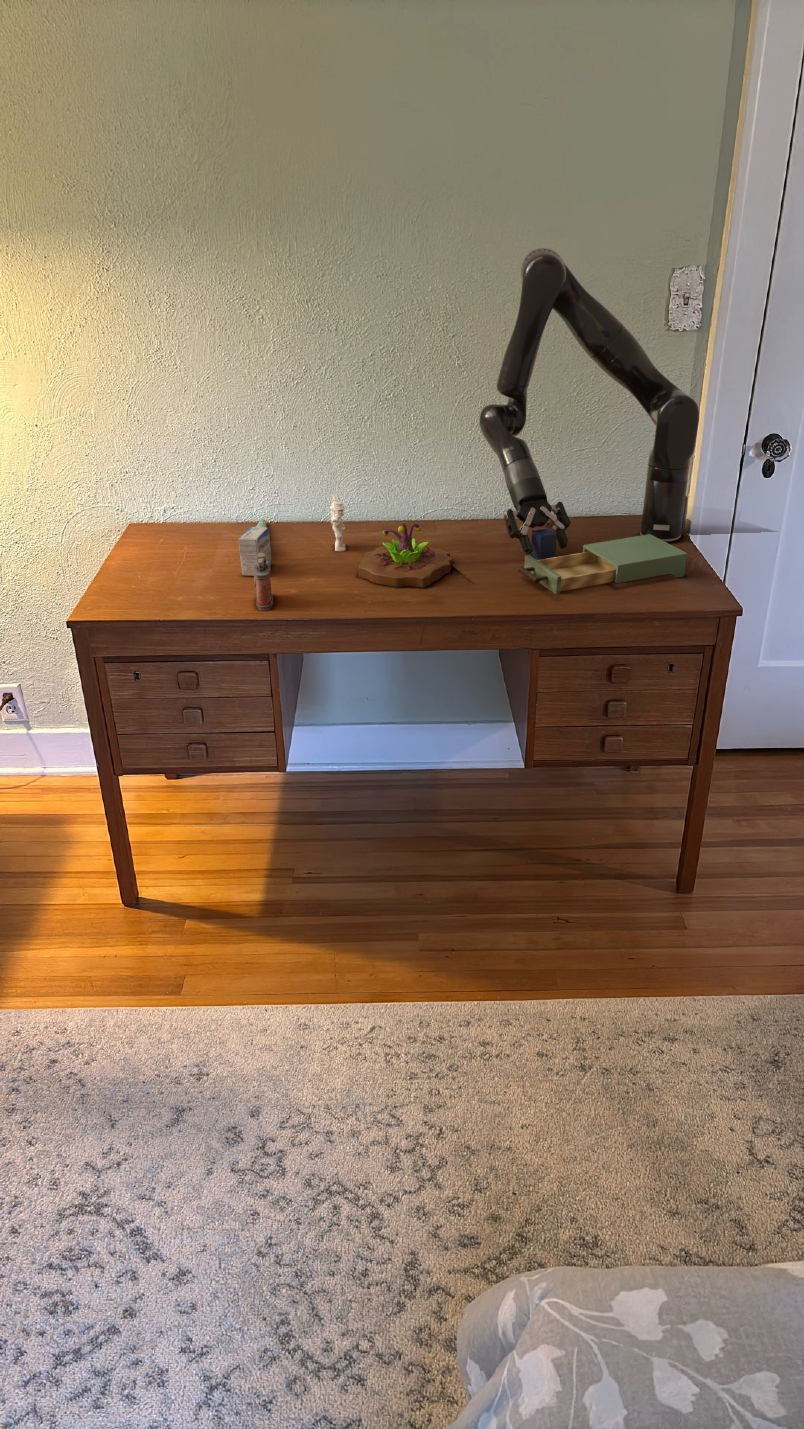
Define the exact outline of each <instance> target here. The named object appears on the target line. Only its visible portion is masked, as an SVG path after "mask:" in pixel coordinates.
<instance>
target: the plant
mask: <svg viewBox="0 0 804 1429" xmlns="http://www.w3.org/2000/svg"><path fill="white" fill-rule="evenodd" d="M414 528H415V531H416V532H420V531H421V530H422V527H421V525H420V524H418V523H413V524H411V526H410V527H409V530H408V528H407V525H406V523H401V524H400V525H399V526H398V528H397V530H398V531H396V530H394V529H393V528H385V529H383V530H382V535H383V536H384V537H385V536H386V537H387V536H388V535H389V533H392V534H393V535H394V536H395V537H396V538H398V540H396V539H394V538H393V539H392V543H390V542H387V541H382V545H383V546H378V547H376V549H375V550H372V551H369V552H366V553H365V554H364V556H363V557H362V559H361V560H360V562H359V564H358V570H357V571H358V577H359V578H360V579H364V580H367V581H369V582H370V583H373V584H375V585H380V586H388V587H393V588H402V587H413V588H422V589H423V588H425V587H429V586H431V585H432V584H433V583H435V582H436V581H438V580H440V579H441V578H442V577H443V576H444V575H446V574H450V573H451V570H452V569H453V565H452V564H453V558H452V557H451V553H450V552H449V551H446V550H444V549H441V548H437V547H436V548H435V547H431V546H427V545H428V544H429V541H423V542H421V543H419V544H416V539H415V538H414V537H412V536H413V531H414ZM401 534H402V535H401Z"/></svg>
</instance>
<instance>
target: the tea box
mask: <svg viewBox="0 0 804 1429" xmlns="http://www.w3.org/2000/svg"><path fill="white" fill-rule="evenodd" d="M530 542H531V545H532V548H533V551H532V552H531V554H530V556H531V557H533V558H534V559H536V560H541V559H547V558H553V557H557V555H556V554H557V542H558V540H557V533H555V532H554V531H553V530H552V529H548V528H542V529H536V530H532V531H531V540H530Z"/></svg>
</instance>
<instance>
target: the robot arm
mask: <svg viewBox="0 0 804 1429" xmlns="http://www.w3.org/2000/svg"><path fill="white" fill-rule="evenodd" d="M520 282H521V283H520V284H521V291H520V292H521V293H520V302H519V307H518V313H517V317H516V321H515V325H514V327H513V330H512V333H511V335H510V338H509V341H508V343H507V345H506V349H505V353H504V355H503V358H502V362H501V366H500V369H499V373H498V376H497V380H496V385H495V387H496V391H497V392H498V393H499V394H501V395H502V396H504V397H507V403H506V404H500V403H499V404H498V403H497V404H496V403H494V404H493V403H492V404H487V405H486V406H484V407H483V408H482V409H481V411H480V413H479V416H478V424H479V429H480V431H481V434H482V436H483V438H484V439H485V440H486V442H487V443H488V445H489V446H490V448H491V450H492V451H493V452H494V454H495V455H496V456H497V458H498V460H499V464H500V468H501V470H502V472H503V475H504V476H503V477H504V481H505V485H506V488H507V490H508V493H509V496H510V500H511V503H512V505H513V508H514V509H515V510H513V509H512V508H508V509H507V510H506V512H505V513H504V515H503V518H504V522H505V526H506V528H507V529H506V530H507V532H508V537H509V538H510V539H518V540H519V542H520V545H521V549H522V552H524V553H525V555H531V552H532V551H533V548H532V545H531V540H530V536H529V534H527V533H528V531H529V528H530V529H534V528H536V527H537V528H539V527H540V528H541V527H546V529H550V530H551V531H553V532H555V533H556V534H557V543H558V546H559V549H560V550H564V549H566V547H567V546H568V544H569V539H568V537H567V534H566V530H567V529H568V528H569V526H571V524H572V523H571V520H570V518H569V515H568V512H567V510H566V507H565V506H564V503H563V502H562V501H558V502H557V503H555V504H550V502H549V501H548V495H547V493H546V490H545V486H544V484H543V482H542V479H541V476H540V473H539V470H538V468H537V466H536V464H535V463H534V460H533V456H532V454H531V451H530V448H529V446H528V443H527V441H525V440H524V439H522V438H520V437H517V436H519V435H520V434H521V433H522V431H523V430H524V428H525V426H526V423H527V406H528V404H527V403H528V390H529V387H530V386H529V385H530V383H531V379H532V376H533V373H534V369H535V364H536V361H537V357H538V353H539V350H540V345H541V342H542V337H543V335H544V332H545V329H546V326H547V323H548V320H549V318H550V315H551V313H552V311H554V312H555V314H557V315H558V316H559V317H560V318H561V320H562V321H563V322H564V324H565V325H566V327H567V328H568V329H569V331H570V333H571V334H572V336H573V337H574V339H575V340H576V342H577V343H578V344H579V346H580V347H581V348H582V350H583V351H584V352H585V353H586V354H587V356H588V357H589V358H590V359H591V360H592V361H593V362H594V363H595V364H596V365H597V366H598V368H600V369H601V370H602V371H603V372H604V373H605V374H606V375H607V376H609V377H610V378H611V379H612V380H614V381H615V382H616V383H617V384H619V385H620V386H621V387H623V388H624V389H626V390H627V391H628V392H629V393H630V394H631V395H632V396H633V397H634V398H635V399H636V401H637V403H639V404H640V406H641V407H642V409H643V410H644V411H645V412H646V414H647V415H648V416H649V418H650V420H651V421H652V422H653V424H654V425H655V433H654V438H653V439H654V440H653V446H652V449H651V450H650V451H649V454H648V460H647V470H646V480H645V487H644V497H643V504H642V505H643V506H642V514H641V515H642V516H641V524H640V530H639V536H641V535H648V534H651V535H653V536H655V537H657V538H659V539H660V540H662V541H664V542H666V543H668V544H670V543H675V542H678V541H680V540H681V537H683V535H684V528H685V521H686V513H687V506H688V496H687V489H688V481H689V474H690V473H689V471H690V464H691V459H692V457H693V455H694V452H695V447H696V444H697V443H696V442H697V436H698V429H699V424H700V408H699V405H698V403H697V402H696V400H695V399H694V398H693V397H691V396H690V395H689V394H688V393H686V392H685V391H683V390H682V389H681V388H679V387H677V385H675V384H674V383H673V382H672V381H670V380H669V378H667V377H666V376H665V375H664V374H662V372H660V371H659V370H658V368H657V367H656V366H655V365H654V363H653V362H652V361H651V360H652V359H650V357H649V355H648V354H647V352H646V351H645V349H644V348H643V346H642V345H641V343H640V342H639V341H638V339H637V338H636V337H635V336H634V335H633V334H632V333H631V332H630V331H629V329H628V328H627V327H626V326H625V325H624V324H623V323H622V322H621V321H620V320H619V319H618V318H617V317H616V316H615V315H614V314H613V313H612V312H611V311H609V309H608V308H606V307H605V306H604V305H603V304H602V303H601V302H600V301H598V300H597V299H596V298H595V297H594V296H593V295H591V294H590V293H589V292H588V290H586V289H585V288H584V287H583V285H582V284H581V283H580V282H579V280H578V279H577V278H576V276H575V275H574V274H573V273H572V271H571V270H570V269H569V267H568V265H567V264H566V263H565V261H564V260H563V258H562V257H561V256H560V254H558V252H556V251H555V250H553V249H551V248H547V247H541V248H540V247H539V248H536V249H535V248H534V249H533V250H532V251H530V252H529V253H528V254H526V256H525V258H524V259H523V261H522V264H521V267H520ZM552 512H553V513H552ZM516 519H518V520H519V521H520V522H521V525H520V528H518V524H517V521H516Z"/></svg>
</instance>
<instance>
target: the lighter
mask: <svg viewBox="0 0 804 1429" xmlns="http://www.w3.org/2000/svg"><path fill="white" fill-rule="evenodd" d="M253 571H254V576H253V579H254V580H253V582H254V588H255V592H256V598H255V600H256V607H257V609H258V610H259V611H268V610H271V608H272V607H273V605H274V596H273V592H272V584H271V565H270V564H269V562H267V560H266V559H265V555H264V553H259V554H258V555H257V563H256V564H255V565H254V568H253Z"/></svg>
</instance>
